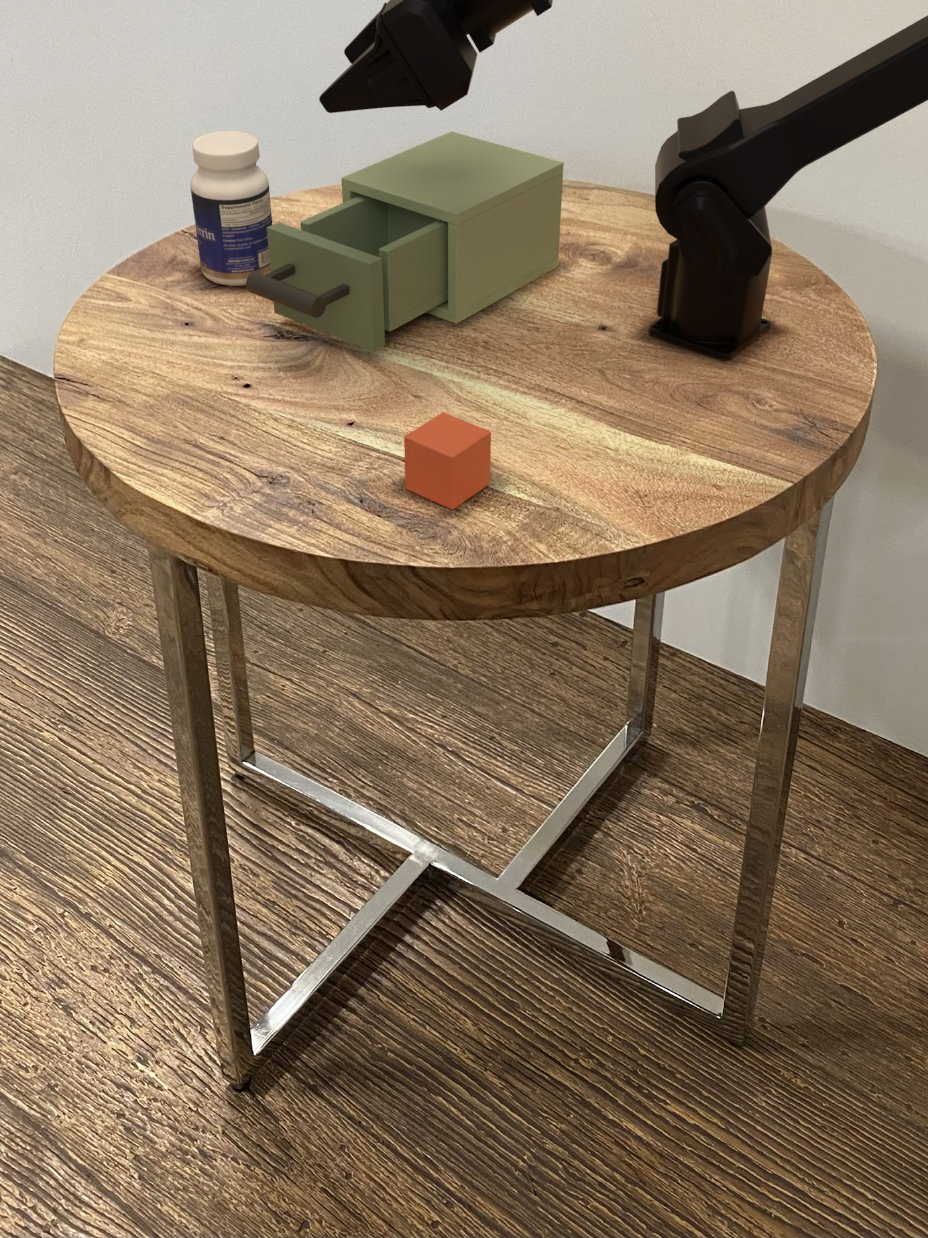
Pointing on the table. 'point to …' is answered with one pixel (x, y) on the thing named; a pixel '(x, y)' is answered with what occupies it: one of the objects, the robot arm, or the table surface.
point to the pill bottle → (230, 207)
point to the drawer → (356, 270)
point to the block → (447, 460)
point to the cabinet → (475, 212)
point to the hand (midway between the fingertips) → (336, 80)
